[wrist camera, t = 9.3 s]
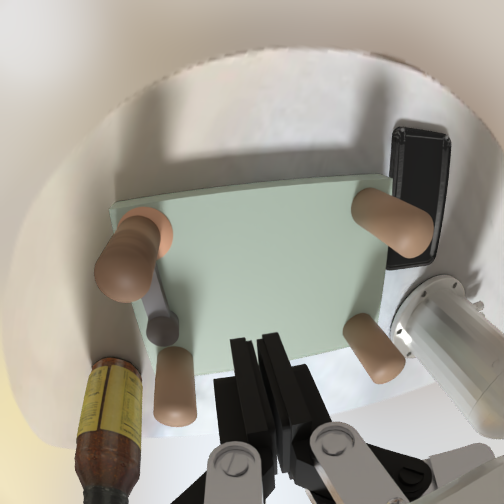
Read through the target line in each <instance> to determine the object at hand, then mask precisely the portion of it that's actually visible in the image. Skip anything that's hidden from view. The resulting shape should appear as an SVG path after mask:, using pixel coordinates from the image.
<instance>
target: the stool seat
mask: <svg viewBox="0 0 504 504" xmlns="http://www.w3.org/2000/svg"><path fill="white" fill-rule="evenodd" d="M392 182H393V179H392V178H390V177H387V176H384V175H381V174H361V175H343V176H327V177H313V178H300V179H288V180H277V181H266V182H256V183H247V184H238V185H229V186H221V187H213V188H205V189H197V190H190V191H182V192H175V193H168V194H162V195H155V196H149V197H142V198H136V199H130V200H124V201H119V202H115V203H114V204H113V205H112V206H111V208H110V209H109V214H110V218H111V223H112V228H113V233H115V231H116V230H117V228H118V227H119V225H120V224H121V222H122V221H124V220H125V219H126V218H128V217H131V216H137V215H139V216H144V217H147V218H149V219H150V220H152V221H153V222H154V223H155V224H156V225H157V227H158V229H159V231H160V235H161V242H160V246H159V250H158V255H157V259H156V264H157V267H158V271H159V274H160V278H161V281H162V285H163V288H164V292H165V295H166V298H167V302H168V305H169V308H170V310H171V311H173V312H174V313H175V314H176V315H177V317H178V319H179V338H178V340H177V341H176V343H174V344H173V345H171V346H167V347H160V346H157V345H154V344H153V343H151V342H150V341H149V340H148V338H147V336H146V329H147V322H148V317H147V314H146V311H145V308H144V305H143V302H142V299H139V300H137V301H134V302H131V303H132V306H133V310H134V313H135V316H136V320H137V323H138V326H139V329H140V332H141V335H142V339H143V342H144V345H145V348H146V350H147V353H148V356H149V359H150V362H151V365H152V368H153V370H154V373H155V376H156V378H155V393H154V411H153V414H154V417H155V419H156V420H157V421H159V422H160V423H162V424H164V425H167V426H171V427H183V426H187V425H189V424H191V423H193V422H194V421H195V420H196V418H197V408H196V394H195V379H194V376H198V375H206V374H213V373H220V372H227V371H233V370H234V366H233V359H232V353H231V346H230V339H235V338H242V337H245V338H246V341H250V340H252V342H253V346H254V350H255V353H256V357H257V361H258V353H257V339H262V334H268V333H274V332H278V333H279V336H280V338H281V341H282V344H283V346H284V349H285V351H286V354H287V356H288V359H289V360H294V359H298V358H303V357H308V356H312V355H317V354H321V353H325V352H330V351H334V350H338V349H342V348H346V347H351V349H352V350H353V352H354V353H355V355H356V356H357V358H358V359H359V361H360V362H361V364H362V365H363V367H364V368H365V370H366V371H367V373H368V374H369V376H370V377H371V379H372V380H373V382H374V383H376V384H384V383H387V382H389V381H391V380H392V379H394V378H395V377H396V376H398V375H399V374H400V372H401V371H402V370H403V368H404V366H405V362H406V360H405V357H404V356H403V355H402V353H401V352H400V351H399V350H398V349H397V347H396V346H395V345H394V344H393V342H392V341H391V340H390V339H389V338H388V336H387V335H386V334H385V333H384V332H383V330H382V329H381V328H380V327H379V326H378V318H379V312H380V305H381V299H382V292H383V285H384V278H385V270H386V261H387V252H388V246H389V247H391V248H392V249H393V250H395V251H396V252H398V253H399V254H400V255H402V256H403V257H405V258H414V257H417V256H419V255H420V254H422V253H423V252H424V251H425V250H426V249H427V247H428V246H429V244H430V242H431V240H432V237H433V232H434V225H433V220H432V218H431V216H430V215H429V214H428V213H427V212H425V211H423V210H421V209H419V208H417V207H415V206H413V205H411V204H409V203H406V202H404V201H402V200H400V199H398V198H396V197H393V196H392ZM258 365H259V364H258Z"/></svg>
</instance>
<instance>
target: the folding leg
mask: <svg viewBox="0 0 504 504" xmlns="http://www.w3.org/2000/svg"><path fill="white" fill-rule="evenodd" d="M160 242H161V235H160V231H159V229H158V227H157V225H156V224H155V223H154V222H153V221H152V220H150V219H149V218H147V217H144V216H139V215H137V216H131V217H128V218H126V219H125V220H124V221H122V222H121V224H120V225H119V227H118V228H117V230H116V231H115V233H114V234H113V236H112V238H111V239H110V241H109V242H108V244H107V245H106V247H105V249H104V250H103V252H102V254H101V255H100V257H99V259H98V260H97V262H96V264H95V269H94V276H95V281H96V283H97V285H98V287H99V289H100V290H101V291H102V292H103V293H104V294H105V295H106V296H107V297H109V298H110V299H112V300H115V301H118V302H123V303H129V302H134V301H137V300H139V299H142V302H143V305H144V308H145V311H146V314H147V317H148V322H147V329H146V336H147V338H148V340H149V341H150V342H151V343H153V344H154V345H157V346H160V347H167V346H171V345H173V344H174V343H176V341H177V340H178V338H179V319H178V317H177V315H176V314H175V313H174V312H173V311H171V310H170V308H169V305H168V302H167V298H166V295H165V292H164V288H163V285H162V281H161V278H160V274H159V271H158V267H157V264H156V259H157V255H158V250H159V246H160Z"/></svg>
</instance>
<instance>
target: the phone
mask: <svg viewBox="0 0 504 504" xmlns="http://www.w3.org/2000/svg"><path fill="white" fill-rule="evenodd" d="M450 157H451V140H450V138H449V136H448V135H446V134H443V133H437V132H432V131H426V130H420V129H413V128H406V127H398V128H396V129H395V130H394V132H393V134H392V147H391V164H390V176H389V177H390V178H392V179H393V182H392V196H393V197H396V198H398V199H400V200H402V201H404V202H406V203H409V204H411V205H413V206H415V207H417V208H419V209H421V210H423V211H425V212H427V213H428V214H429V215H430V216H431V218H432V220H433V225H434V232H433V237H432V240H431V242H430V244H429V246H428V247H427V249H426V250H425V251H424V252H423V253H422V254H420V255H419V256H417V257H414V258H405V257H403V256H402V255H400V254H399V253H398V252H396V251H395V250H393V249H392V248H391V247H389V246H388V252H387V261H386V270H398V269H405V268H412V267H419V266H426V265H430V264H431V263H432V262H433V261H434V259H435V257H436V253H437V249H438V243H439V238H440V233H441V227H442V221H443V215H444V209H445V202H446V194H447V186H448V178H449V168H450Z"/></svg>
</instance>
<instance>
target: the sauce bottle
mask: <svg viewBox="0 0 504 504" xmlns="http://www.w3.org/2000/svg"><path fill="white" fill-rule="evenodd" d="M142 391H143V387H142V378H141V376H140V374H139V372H138V371H137V369H136V368H135V367H134V366H133V365H132V364H131V363H130V362H127V361H124V360H121V359H117V358H110V357H109V358H104V359H101V360H100V361H98V362H96V363H95V364H94V365H93V367H92V371H91V374H90V375H89V378H88V383H87V387H86V392H85V396H84V401H83V406H82V411H81V417H80V422H79V427H78V433H77V439H76V443H77V448H76V453H75V471H76V473H77V475H78V477H79V480H80V482H81V484H82V487H83V489H84V491H83V495H84V501H83V503H84V504H128V502H129V501H128V497H129V495H130V493H131V491H132V489H133V487H134V486H135V484H136V483H137V481H138V480H139V476H140V461H141V426H142Z"/></svg>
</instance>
